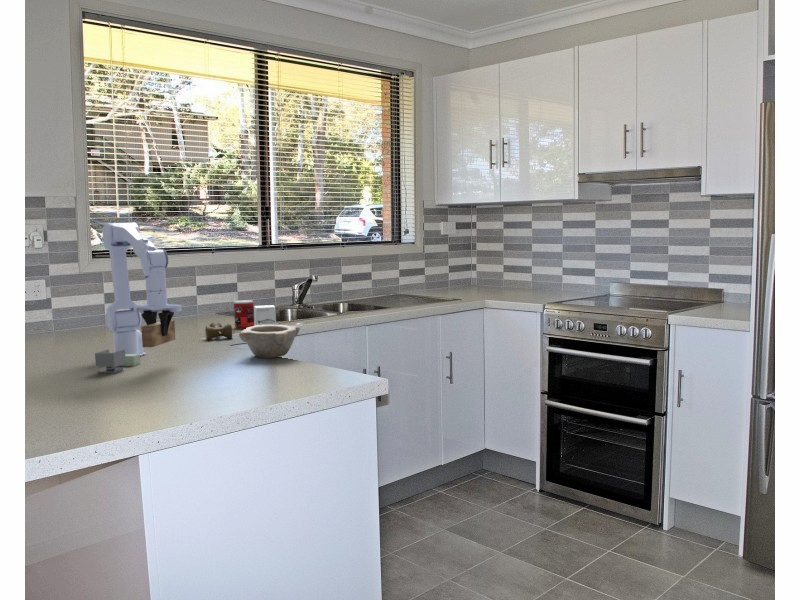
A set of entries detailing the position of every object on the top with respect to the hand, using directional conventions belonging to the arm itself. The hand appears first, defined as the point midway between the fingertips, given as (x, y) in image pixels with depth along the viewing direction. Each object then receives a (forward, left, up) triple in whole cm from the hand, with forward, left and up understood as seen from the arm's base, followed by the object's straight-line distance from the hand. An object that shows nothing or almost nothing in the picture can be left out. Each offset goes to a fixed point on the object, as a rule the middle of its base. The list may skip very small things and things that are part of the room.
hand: (159, 335), depth 213 cm
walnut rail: (0, 0, -2) cm, 2 cm away
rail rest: (-4, -13, -10) cm, 17 cm away
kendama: (-56, -7, -10) cm, 57 cm away
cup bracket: (+6, -13, -10) cm, 17 cm away
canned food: (-82, -7, -10) cm, 83 cm away
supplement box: (-51, +14, -10) cm, 54 cm away
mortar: (-21, +27, -10) cm, 36 cm away
